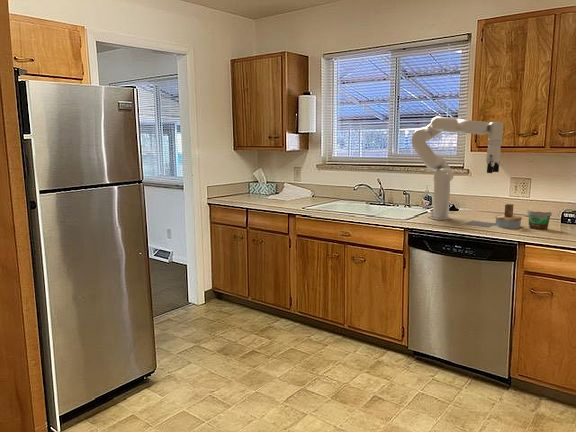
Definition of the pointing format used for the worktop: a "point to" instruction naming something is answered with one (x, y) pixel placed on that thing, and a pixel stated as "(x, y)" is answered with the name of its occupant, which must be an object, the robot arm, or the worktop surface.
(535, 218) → the food container
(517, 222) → the bowl
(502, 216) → the lid
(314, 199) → the worktop surface
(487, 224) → the mat
